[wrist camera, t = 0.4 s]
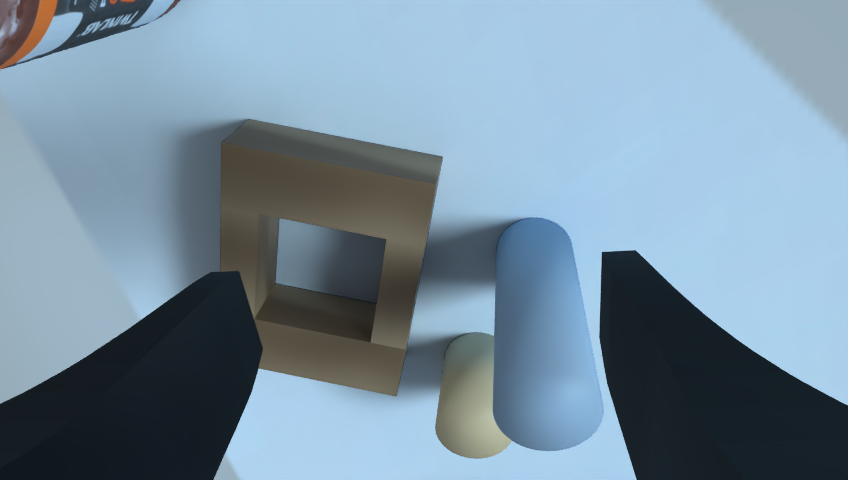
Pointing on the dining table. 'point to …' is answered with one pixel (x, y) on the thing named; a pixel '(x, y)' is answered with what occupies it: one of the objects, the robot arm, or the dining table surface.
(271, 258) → the block with square hole
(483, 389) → the short dowel
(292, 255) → the dining table surface
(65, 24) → the supplement bottle
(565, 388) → the long dowel
